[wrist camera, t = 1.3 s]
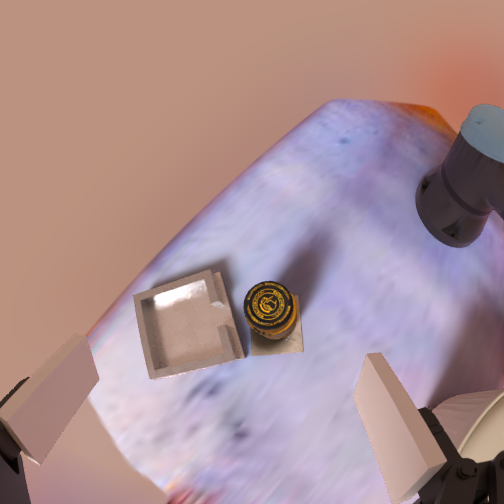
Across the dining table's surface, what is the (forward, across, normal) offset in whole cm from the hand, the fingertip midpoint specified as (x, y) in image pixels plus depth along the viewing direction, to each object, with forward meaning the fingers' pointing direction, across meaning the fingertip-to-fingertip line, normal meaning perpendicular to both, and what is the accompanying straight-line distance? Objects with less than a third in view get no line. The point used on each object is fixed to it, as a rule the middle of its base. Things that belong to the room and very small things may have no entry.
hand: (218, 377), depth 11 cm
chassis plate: (+27, -8, -13) cm, 31 cm away
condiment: (+26, +5, -11) cm, 28 cm away
